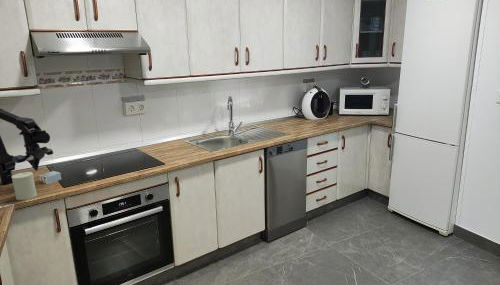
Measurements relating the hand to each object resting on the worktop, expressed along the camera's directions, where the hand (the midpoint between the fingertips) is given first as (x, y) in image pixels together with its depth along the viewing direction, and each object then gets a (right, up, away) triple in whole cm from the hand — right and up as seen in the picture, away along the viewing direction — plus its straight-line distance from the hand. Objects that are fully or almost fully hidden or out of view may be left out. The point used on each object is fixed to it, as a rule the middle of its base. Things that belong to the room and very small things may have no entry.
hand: (36, 170), depth 196 cm
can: (+4, -12, -14) cm, 19 cm away
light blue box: (+2, -5, +4) cm, 7 cm away
